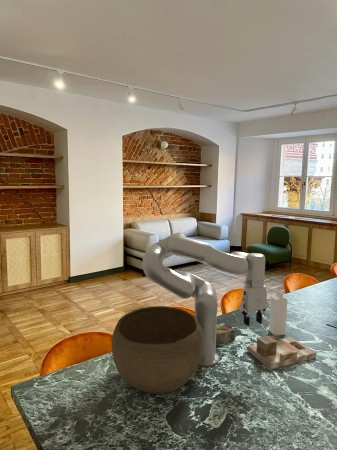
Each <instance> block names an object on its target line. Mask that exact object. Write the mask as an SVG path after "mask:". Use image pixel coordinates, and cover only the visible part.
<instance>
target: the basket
mask: <svg viewBox="0 0 337 450" xmlns="http://www.w3.org/2000/svg"><path fill="white" fill-rule="evenodd" d="M111 337H112V338H111V354H112V357H113V361H114V365H115V368H116V370H117V372H118V374H119V375H120V376H121V377H122V378H123V380H124V381H125V382H126V383H127V384H129V385H130V386H132V387H133V388H135V389H137V390H139V391H142V392H144V393H148V394H153V395H154V394H156V395H157V394H159V395H160V394H167V393H171V392H174V391H176V390H178V389H180V388H181V387H183V386H184V385H186V383H188V382H189V381H190V380H191V379H192V377H193V376H194V374H195V373H196V371H197V369H198V368H199V366H200V365H199V363H200V360H201V358H202V355H203V346H204V337H203V331H202V328H201V326H200V324H199V323H198V320H197V318H196V317H195V315H193V314H191V313H190V312H188V311H187V310H186V309H185V310H184V309H181V308H177V307H171V306H166V305H156V306H155V305H154V306H153V305H152V306H146V307H140V308H137V309H133V310H131V311H129V312H127V313H125V314H124V315H122V316H121V317H120V318H119V319H118V321H117V323H116V325H115V327H114V330H113V332H112V336H111Z"/></svg>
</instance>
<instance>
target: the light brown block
mask: <svg viewBox="0 0 337 450" xmlns="http://www.w3.org/2000/svg"><path fill="white" fill-rule="evenodd" d="M269 336H270V335H265V336H259V337H256V344H257V351H258V352H259V353H260V354H262V355H263V356H264V357H268V356H272V355H276V350H277V341H275V340H276V339H275V340H274V339H272V338H271V337H269Z"/></svg>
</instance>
